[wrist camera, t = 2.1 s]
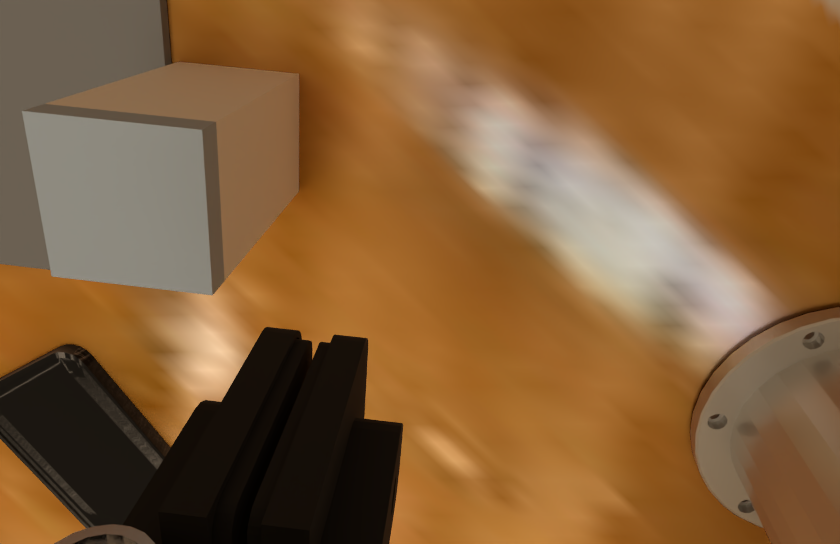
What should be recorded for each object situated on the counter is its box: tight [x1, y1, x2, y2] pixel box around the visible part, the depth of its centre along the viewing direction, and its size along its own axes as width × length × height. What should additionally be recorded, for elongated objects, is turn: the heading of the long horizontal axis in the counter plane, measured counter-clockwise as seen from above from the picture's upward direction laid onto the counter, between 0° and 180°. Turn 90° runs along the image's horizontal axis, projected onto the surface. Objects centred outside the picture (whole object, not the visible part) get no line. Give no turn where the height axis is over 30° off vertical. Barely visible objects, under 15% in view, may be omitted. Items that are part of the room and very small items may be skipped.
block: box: [22, 62, 299, 295], centre depth 23 cm, size 5×5×10 cm
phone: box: [0, 344, 170, 528], centre depth 36 cm, size 8×1×15 cm
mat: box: [0, 0, 172, 270], centre depth 28 cm, size 12×15×1 cm
